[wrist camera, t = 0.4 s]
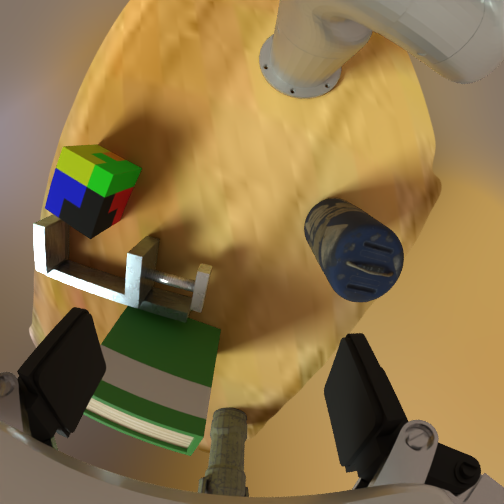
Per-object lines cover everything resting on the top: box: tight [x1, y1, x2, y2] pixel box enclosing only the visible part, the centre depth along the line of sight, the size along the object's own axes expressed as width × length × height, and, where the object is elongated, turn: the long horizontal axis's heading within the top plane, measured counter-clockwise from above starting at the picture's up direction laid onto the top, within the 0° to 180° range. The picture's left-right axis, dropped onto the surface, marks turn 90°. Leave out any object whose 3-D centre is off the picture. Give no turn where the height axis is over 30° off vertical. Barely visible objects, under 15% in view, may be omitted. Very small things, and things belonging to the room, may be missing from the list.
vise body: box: [33, 214, 192, 322], centre depth 42 cm, size 12×30×8 cm, turn 75°
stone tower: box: [198, 408, 249, 497], centre depth 45 cm, size 9×12×35 cm
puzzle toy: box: [45, 145, 142, 239], centre depth 36 cm, size 10×10×10 cm
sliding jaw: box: [125, 236, 212, 312], centre depth 42 cm, size 9×12×8 cm
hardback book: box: [83, 306, 221, 456], centre depth 39 cm, size 18×7×24 cm, turn 68°
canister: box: [304, 198, 404, 302], centre depth 35 cm, size 10×10×18 cm
